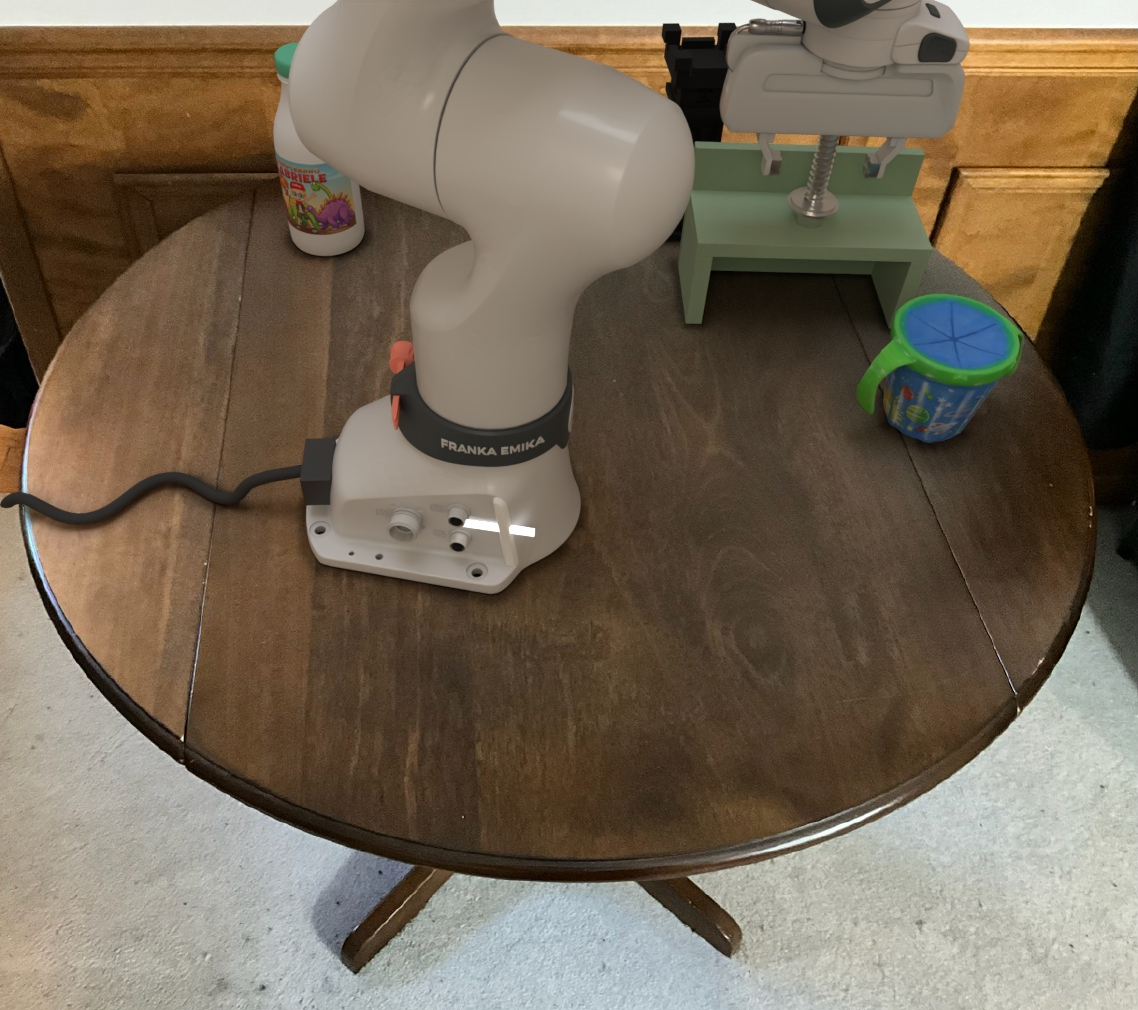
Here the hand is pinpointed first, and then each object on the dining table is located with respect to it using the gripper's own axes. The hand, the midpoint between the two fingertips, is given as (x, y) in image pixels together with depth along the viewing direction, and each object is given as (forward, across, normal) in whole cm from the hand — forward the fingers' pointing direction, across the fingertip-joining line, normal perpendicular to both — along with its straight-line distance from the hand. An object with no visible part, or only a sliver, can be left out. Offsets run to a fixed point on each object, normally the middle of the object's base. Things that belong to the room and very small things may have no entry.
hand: (820, 174), depth 95 cm
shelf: (+14, 0, +1) cm, 15 cm away
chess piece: (+15, -10, +14) cm, 23 cm away
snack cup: (+15, +10, -16) cm, 24 cm away
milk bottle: (+15, -48, +9) cm, 51 cm away
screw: (+5, 0, 0) cm, 5 cm away
